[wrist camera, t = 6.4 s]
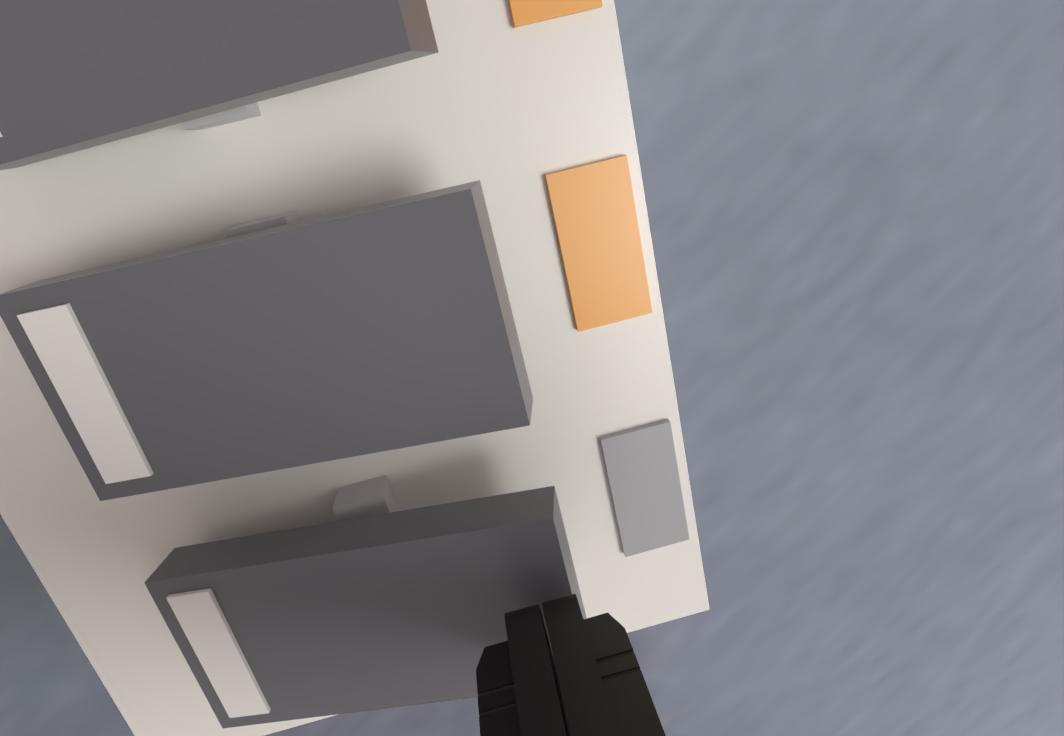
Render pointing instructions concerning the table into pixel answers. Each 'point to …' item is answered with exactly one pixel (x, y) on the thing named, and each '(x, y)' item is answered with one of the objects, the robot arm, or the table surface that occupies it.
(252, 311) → the block
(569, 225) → the switch unit
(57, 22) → the rocker
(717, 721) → the table surface
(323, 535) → the block
